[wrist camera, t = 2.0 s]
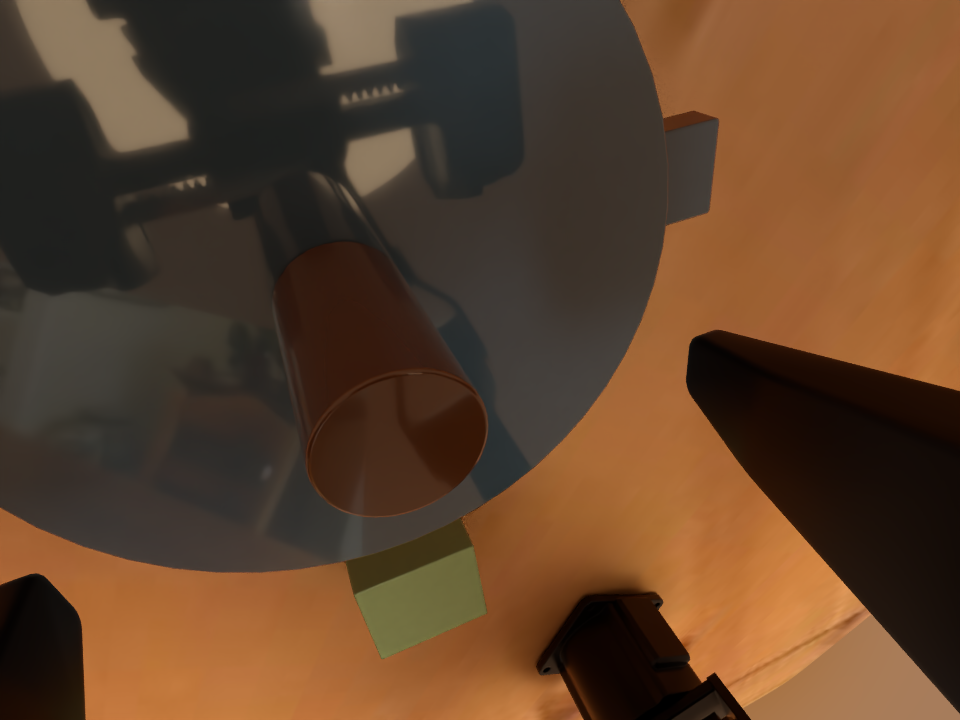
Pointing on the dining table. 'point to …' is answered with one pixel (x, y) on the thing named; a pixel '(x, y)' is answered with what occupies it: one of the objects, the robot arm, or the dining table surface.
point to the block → (418, 588)
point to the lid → (310, 263)
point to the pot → (690, 164)
